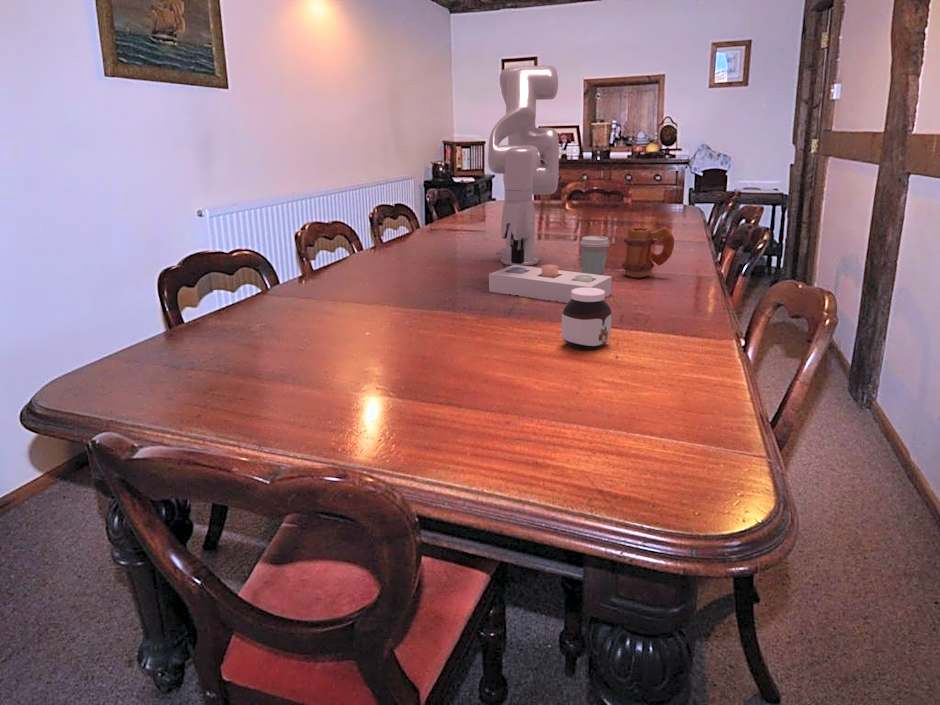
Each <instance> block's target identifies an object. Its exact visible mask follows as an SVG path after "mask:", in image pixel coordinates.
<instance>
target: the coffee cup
mask: <svg viewBox="0 0 940 705" xmlns="http://www.w3.org/2000/svg"><path fill="white" fill-rule="evenodd" d="M579 246H580V250H581V265H582V266H581V268H582V273H587V274H596V275H604V273H605V268H606V262H607V256H608V249H609V246H610V241H609V238H608V237H607V236H603V235H602V236H601V235H587V236H583V237H582V238H581V240H580V242H579Z"/></svg>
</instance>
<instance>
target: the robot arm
mask: <svg viewBox="0 0 940 705" xmlns="http://www.w3.org/2000/svg"><path fill="white" fill-rule="evenodd" d="M558 76H559V75H558V72H557V69H556V67H555V66H554V65H516V66H515V65H514V66H509V67H505V68H504V69H502V71H501V72H500V74H499V85H500V90H501V95H502V98H503V101H504V103H505V106H506V107H505V115H503V116H502V118H501V119H499V120H498V121H497V122H496V124H495V125H494V127H493V128H492V130H491V133H490V136H489V140H488V141H489V142H488V151H487V152H488V156H487V157H488V158H487V163H488V168H489V170H490V171H491V172H492V173H494V174H499V175H502V174H503V175H502V176H503V177H502V178H503V179H502V180H503V188H504V202H503V206H502V214H501V227H500V236H501V239H504V240H505V247H497V248H496V250H495V254H496V255H502V257H501V258H500V263H501V264H503V265H507V266H512V265H520V266H533V265H536V264H538V263H539V262H540V261H539V257H536V256H535V238H536V237H535V236H536V235H535V234H536V233H535V230H536V209H535V205H534V204H533V195H553V194H555V193H556V191H557V189H558V185H559V175H560V174H559V166H560V164H559V163H560V162H559V161H560V141H559V139H560V138H559V135H558V132H557V130H555V129H554V128H552V127H537V126H536V116H537V101H538V100H540V101H541V100H554V99H555V98H556V96H557V94H558V90H559V77H558ZM506 138H507V144H506V145H505V144H504V145H503V144H502V145H500V144H501V143H502V141H503V140H504V139H506ZM542 161H543V162H544V163H541V162H542Z"/></svg>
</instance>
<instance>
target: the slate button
mask: <svg viewBox="0 0 940 705" xmlns="http://www.w3.org/2000/svg"><path fill="white" fill-rule="evenodd" d="M510 273H517V274H523V273H525V268H522V267H512V268H510Z"/></svg>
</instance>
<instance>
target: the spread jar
mask: <svg viewBox="0 0 940 705" xmlns="http://www.w3.org/2000/svg"><path fill="white" fill-rule="evenodd" d="M612 316H613V314H612V308H611V306H610V305H609V303H608V302H607V301H606V300H605V291H604V290H601V289H598V288H588V287H584V288H576V289H573V290H572V291H571V300H570V301H569V302H568V303H565V306H564V308H563V310H562V315H561V328H560V329H561V330H560V331H561V338H562V340H563V341H564V343H566V344H567V345H568V346H569V347H571V349H575V350H577V351H595V350H599V349H601V348H602V347H604V346H605V345H606V344H607V343H608V341H609V339H610V336H611V333H612V332H611V331H612V319H613V317H612Z"/></svg>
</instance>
